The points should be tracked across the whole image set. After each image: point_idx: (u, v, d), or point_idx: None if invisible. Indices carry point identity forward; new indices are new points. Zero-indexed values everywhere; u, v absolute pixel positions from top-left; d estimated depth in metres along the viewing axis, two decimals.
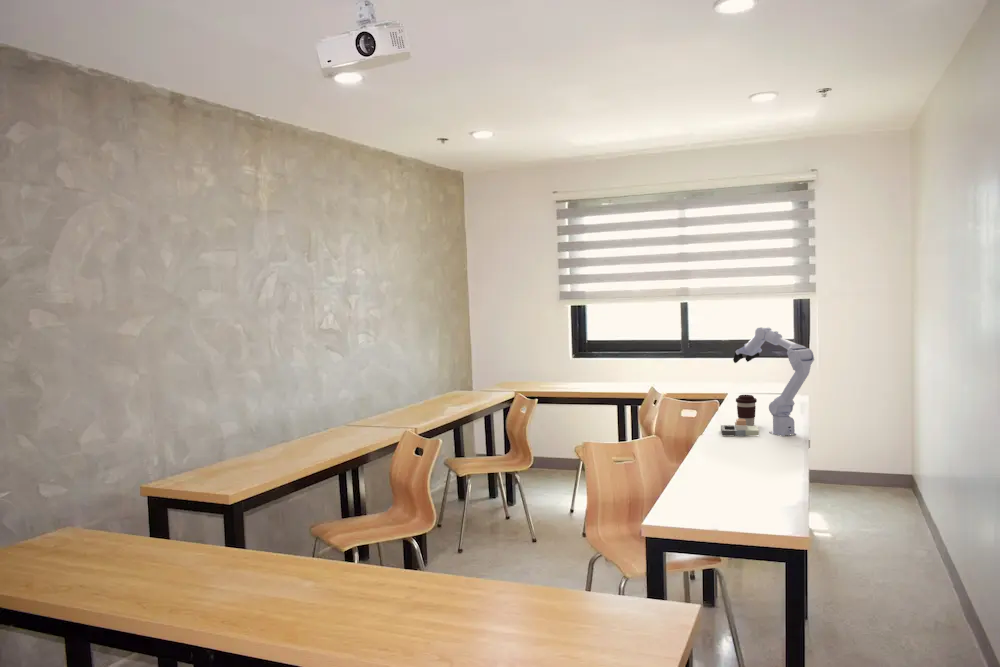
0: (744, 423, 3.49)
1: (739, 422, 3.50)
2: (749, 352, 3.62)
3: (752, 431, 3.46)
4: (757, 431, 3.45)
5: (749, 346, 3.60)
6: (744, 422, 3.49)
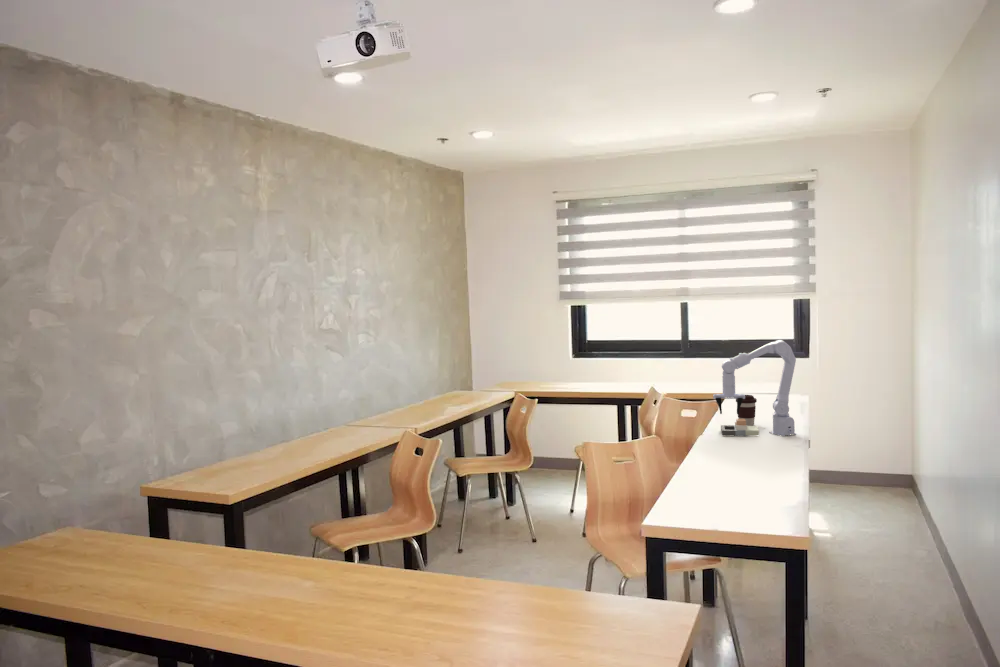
0: (744, 423, 3.49)
1: (739, 422, 3.50)
2: None
3: (752, 431, 3.46)
4: (757, 431, 3.45)
5: None
6: (744, 422, 3.49)
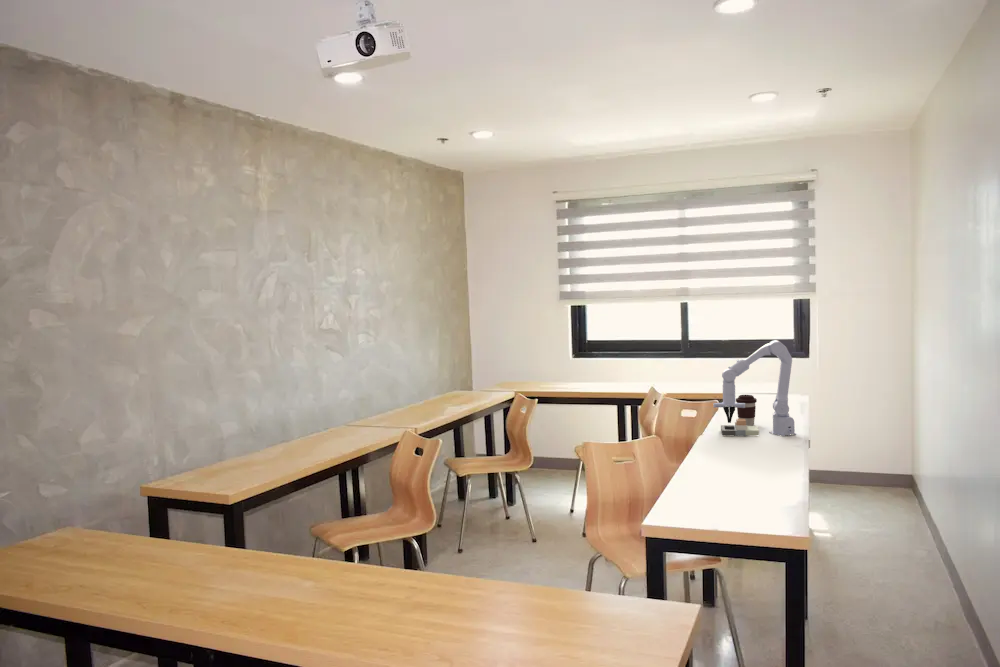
0: (744, 423, 3.49)
1: (739, 422, 3.50)
2: None
3: (752, 431, 3.46)
4: (757, 431, 3.45)
5: None
6: (744, 422, 3.49)
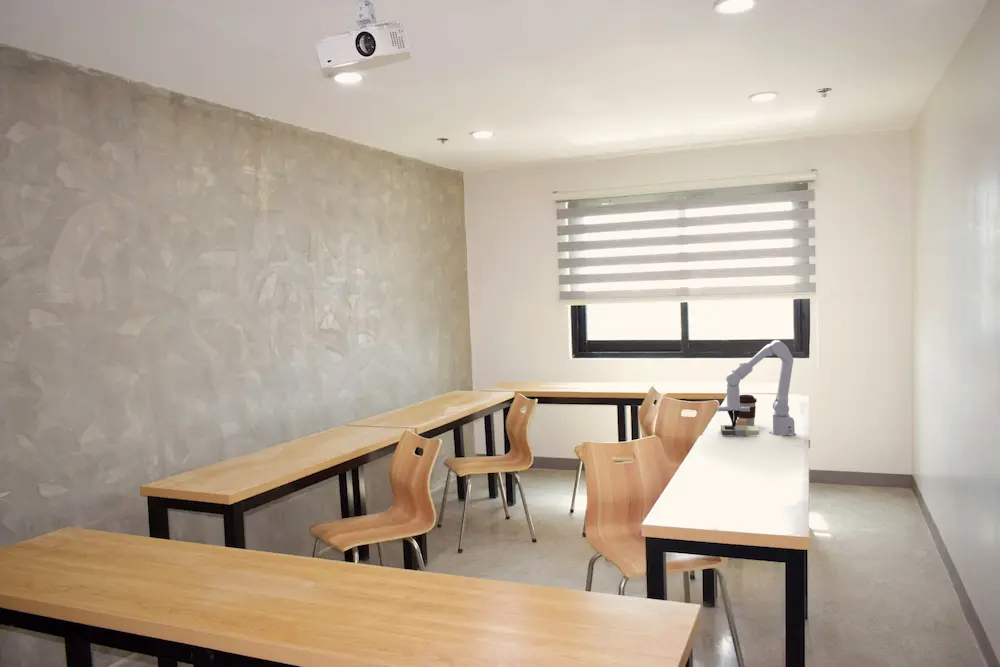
0: (745, 423, 3.49)
1: (740, 422, 3.50)
2: None
3: (752, 431, 3.46)
4: (757, 431, 3.45)
5: None
6: (745, 422, 3.49)
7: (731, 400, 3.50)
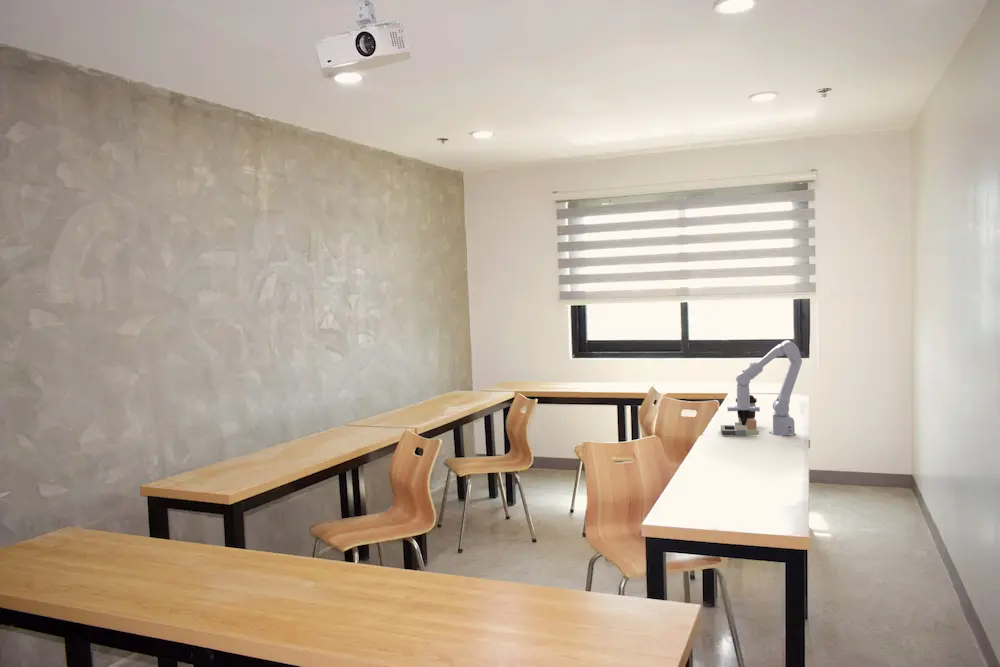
0: (755, 423, 3.48)
1: (750, 422, 3.49)
2: None
3: (752, 431, 3.46)
4: (757, 431, 3.45)
5: None
6: (755, 422, 3.48)
7: (741, 400, 3.49)
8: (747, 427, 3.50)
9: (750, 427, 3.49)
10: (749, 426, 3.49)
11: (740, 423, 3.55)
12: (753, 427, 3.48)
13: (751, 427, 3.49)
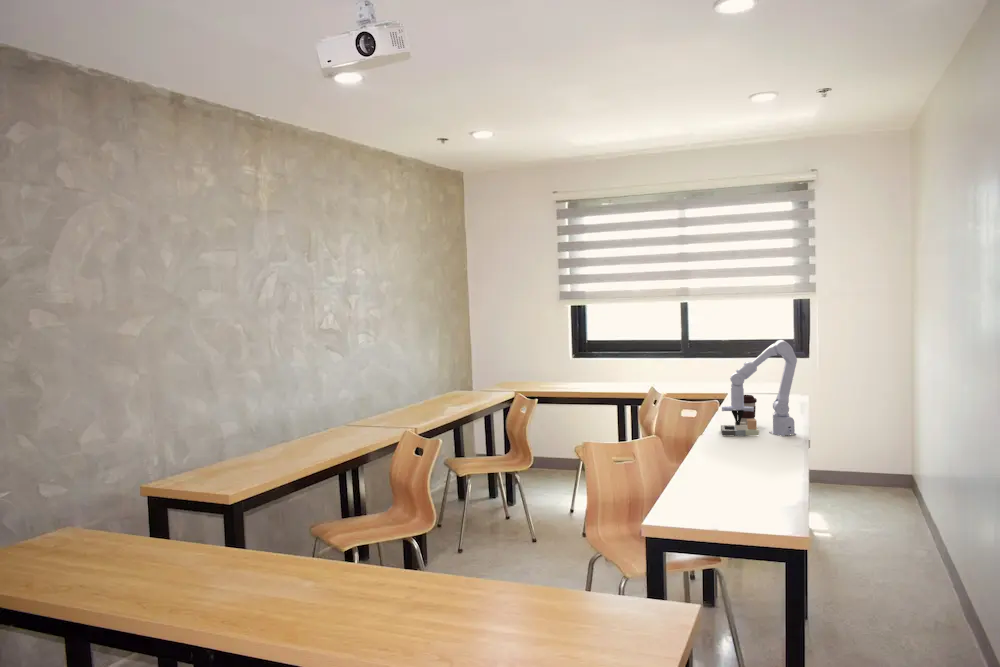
0: (755, 423, 3.48)
1: (750, 422, 3.49)
2: None
3: (752, 431, 3.46)
4: (757, 431, 3.45)
5: None
6: (755, 422, 3.48)
7: (735, 400, 3.49)
8: (747, 427, 3.50)
9: (750, 427, 3.49)
10: (749, 426, 3.49)
11: (740, 423, 3.55)
12: (753, 427, 3.48)
13: (751, 427, 3.49)
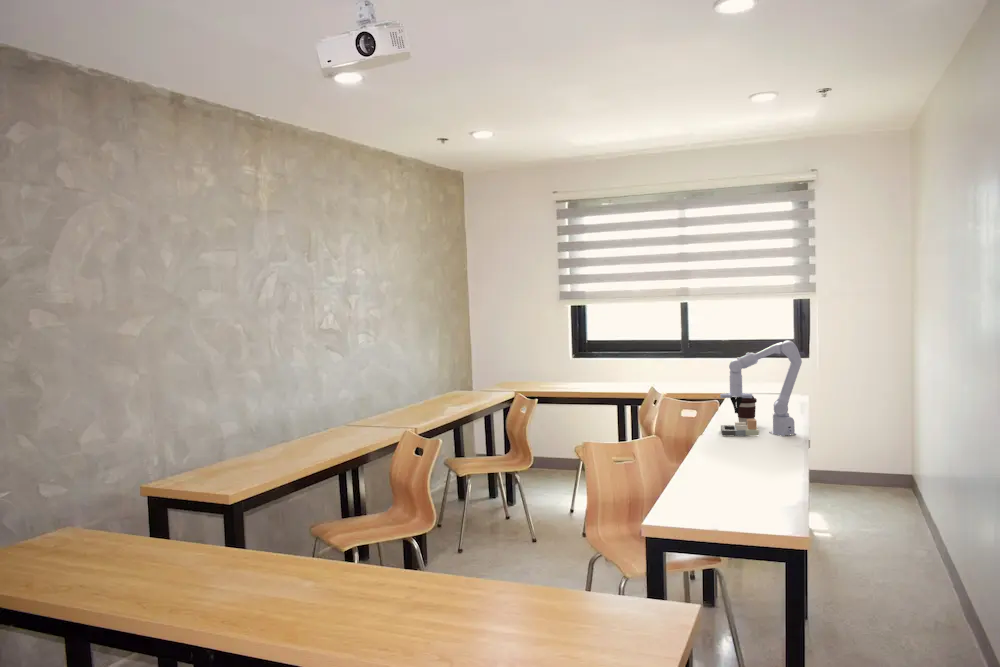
0: (755, 423, 3.48)
1: (750, 422, 3.49)
2: None
3: (752, 431, 3.46)
4: (757, 431, 3.45)
5: None
6: (755, 422, 3.48)
7: (734, 387, 3.51)
8: (747, 427, 3.50)
9: (750, 427, 3.49)
10: (749, 426, 3.49)
11: (740, 423, 3.55)
12: (753, 427, 3.48)
13: (751, 427, 3.49)
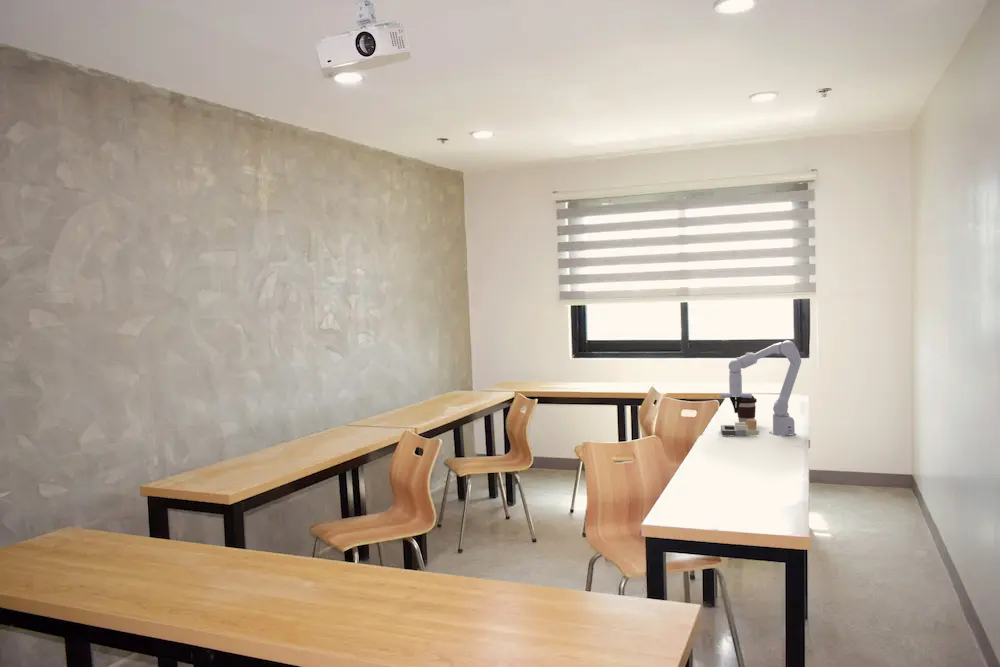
0: (755, 423, 3.48)
1: (750, 422, 3.49)
2: None
3: (752, 431, 3.46)
4: (757, 431, 3.45)
5: None
6: (755, 422, 3.48)
7: (733, 386, 3.52)
8: (747, 427, 3.50)
9: (750, 427, 3.49)
10: (749, 426, 3.49)
11: (740, 423, 3.55)
12: (753, 427, 3.48)
13: (751, 427, 3.49)
